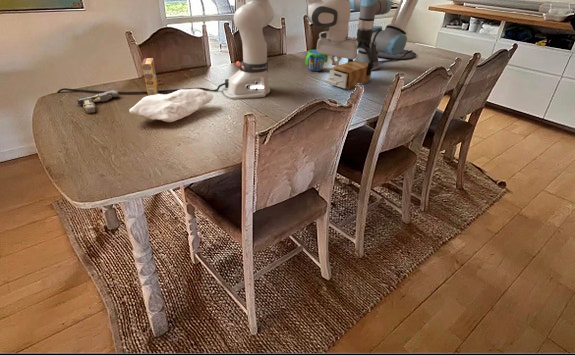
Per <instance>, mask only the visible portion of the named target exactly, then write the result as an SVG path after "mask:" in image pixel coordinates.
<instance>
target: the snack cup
mask: <svg viewBox="0 0 575 355" xmlns="http://www.w3.org/2000/svg"><path fill="white" fill-rule="evenodd" d="M325 63H328V55H327V54H322V53H318V52H317V50H316V49H309V50H307V54H306V57H305V61H304V64H305V66H306V67H308V68H309V70H310V71H312V72H321V71H323V69H324V64H325Z"/></svg>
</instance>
